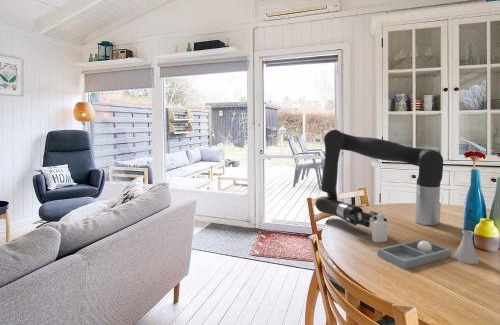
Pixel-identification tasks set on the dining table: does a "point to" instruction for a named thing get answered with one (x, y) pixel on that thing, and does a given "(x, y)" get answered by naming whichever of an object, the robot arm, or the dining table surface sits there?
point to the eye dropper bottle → (379, 229)
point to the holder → (412, 254)
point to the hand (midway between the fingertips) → (377, 223)
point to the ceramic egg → (424, 247)
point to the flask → (466, 249)
